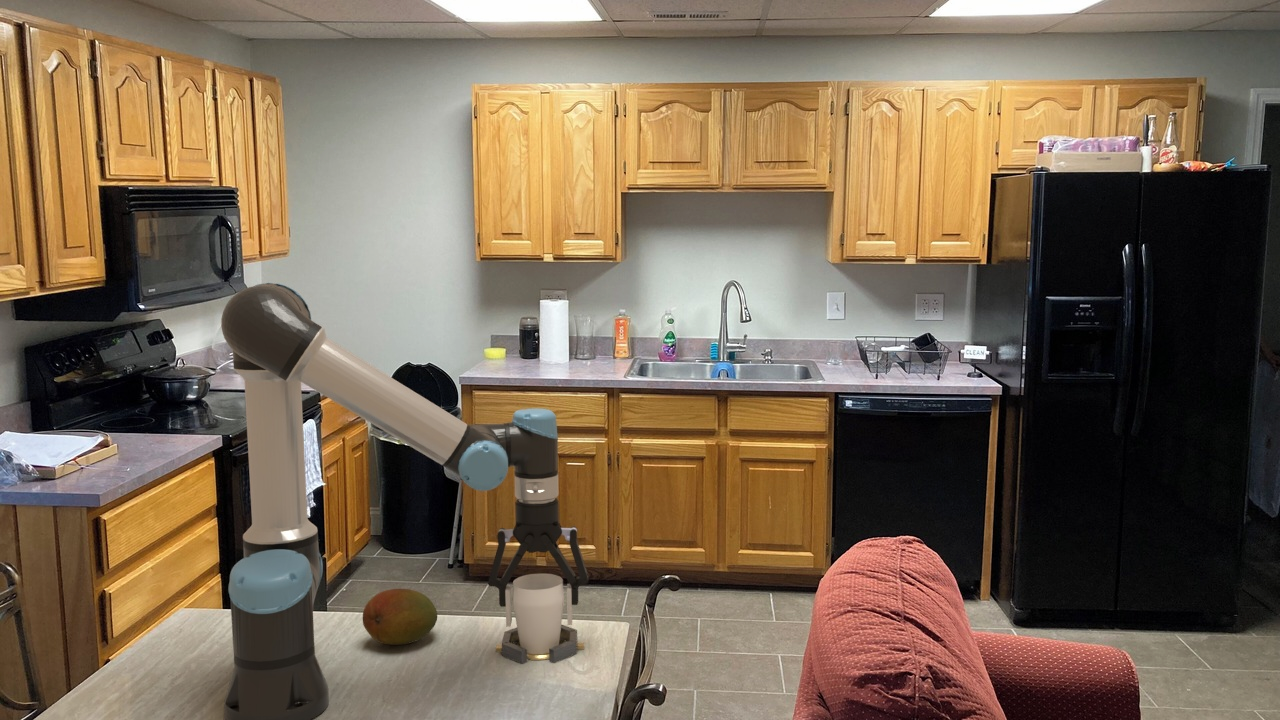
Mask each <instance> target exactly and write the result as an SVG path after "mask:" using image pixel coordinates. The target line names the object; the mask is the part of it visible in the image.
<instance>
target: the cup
mask: <svg viewBox="0 0 1280 720" xmlns="http://www.w3.org/2000/svg"><path fill="white" fill-rule="evenodd" d="M564 591H565V589H564V579H563V578H562V577H561V576H559V575H557V574H552V573H529V574H525V575H521V576H518V577H517V578H515V579H514V580H513V582H512V596H511V601H512V605H513V610H514V616H515V623H516V627H517V629H518V635H519V640H520V646H521V647H522V648H525V649H527V653H528V654H534V655H541V654H547V653H549V649H550V648H553V647H555V646H558V645H559V639H560V631H561V624H562V622H563V620H562V619H563V612H564V603H565V592H564Z"/></svg>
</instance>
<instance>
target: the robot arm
mask: <svg viewBox="0 0 1280 720" xmlns="http://www.w3.org/2000/svg"><path fill="white" fill-rule="evenodd" d="M220 323H221V332H222V335H223V338H224V340H225V342H226V343H227V345H228V346H229V348H230V349H232V363H233V365H232V366H233V371H234V372H236V374H238V375H240V377H241V378H242V379H243V380H244V393H245V397H244V398H245V412H246V416H245V417H246V436H247V449H248V450H247V453H248V455H247V456H248V470H249V489H250V491H249V492H250V506H251V508H250V509H251V511H250V512H251V526H250V527H249V528H247V530H246V531H245V532H244V533H243V534H242V545H243V546H242V549H243V558H242V559H240V560H239V561H237V562H236V563H235V564H234V566H232V568H231V571H230V572H229V573H230V574H229V583H228V594H229V598H230V599H229V600H230V601H229V602H230V612H231V613H230V614H231V629H232V646H233V647H232V648H233V649H232V650H233V651H232V652H233V670H232V673H231V677H230V679H229V684H228V687H227V692H226V694H225V698H224V702H223V709H224V711H223V713H224V714H223V715H224V720H312V719H314V718H316V717H318V716H319V715H321V714H322V713H323V712H324V711H325V710H326V709H327V707H328V706H329V703H330V693H329V685H328V682H327V681H326V677H325V676H324V673H323V670H322V668H321V666H320V663H319V662H318V659H317V656H316V650H315V649H316V648H315V629H314V603H315V599H316V596H317V592H318V588H319V586H320V583H321V580H322V578H323V572H324V571H323V570H324V569H323V567H324V566H323V558H322V557H321V556H322V555H321V553H320V549H319V532H318V527H317V526H316V525H315V524H314V523H312V522H311V521H310V520H309V519H308V504H307V502H308V501H307V483H306V482H307V481H306V480H307V479H306V478H307V477H306V461H305V460H306V459H305V442H304V441H305V440H304V439H305V438H304V419H303V415H304V414H303V399H302V398H303V396H302V383H303V384H304V385H306V386H308V387H309V388H311V389H312V390H314V391H316V392H317V393H319V394H321V395H323V396H325V397H326V398H327V399H330V400H331V401H333V402H334V403H336V404H337V405H339V406H341V407H343V408H344V409H346V410H348V411H350V412H351V413H353V414H355V415H356V416H358V417H360V418H361V419H363V420H365V421H367V422H368V423H370V424H372V425H374V426H375V427H377V428H379V429H380V430H382V431H383V432H386V433H387V434H389V435H390V436H392V437H394V438H395V439H397V440H399V441H401V442H402V443H404V444H405V445H407V446H409V447H410V448H413V449H414V450H415V451H416V452H417V451H418V452H419V453H421V454H423V455H425V456H426V457H427V458H429V459H431V460H433V461H434V462H435V463H437V464H439V465H441V466H443V467H444V468H445V469H446V470H448V471H450V472H452V473H453V474H455V475H456V476H458V477H460V478H461V480H462V481H463V483H464V484H465V485H467V486H469V487H470V488H471V489H472V490H476V491H480V492H485V491H492V490H493V489H495V488H497V487H498V486H500V485H501V484H502V483H503V481H504V480H505V479H506V477H507V474H508V471H509V468H510V467H514V497H515V498H516V501H515V502H514V507H515V508H514V509H515V511H514V512H515V513H514V514H515V525H514V527H513V528H511V529H510V528H509V529H505V528H504V527H500V528H499V529H498V532H497V535H496V536H497V548H496V552H495V556H494V560H493V562H492V567H491V569H490V570H491V571H490V574H489V578H488V582H487V584H488V586H489V587H495V588H497V589H498V598H499V599H498V600H499V601H498V604H499V607H500V608H502V607H503V608H505V623H506V624H505V625H506V626H505V627H512V622H513V613H512V612H513V610H512V609H513V607H512V605H513V603H512V584H509V582H510V580H511V578H512V576H513V575H514V573H515V572H516V569H517V568H518V566H519V564H520V563H521V560H522V559H523V558H524V555H525V554H526V552H527V553H530V554H533V553H537V552H539V553H547V552H549V554H550V555H551V557H552V558H553V559H554V561H555V562H556V564H557V565H558V567H559V568H560V570H561V572H562V574H563V575H564V577H565V579H566V580H567V585H566V603H567V604H566V606H567V607H566V608H567V610H566V611H567V614H566V615H567V616H566V617H567V626H573V606H577V605H578V603H579V587H580V586H583V585H587V584H588V583H589V574H588V570H587V567H586V565H585V561H584V558H583V554H582V551H581V549H580V546H579V541H578V539H577V538H578V528H577V527H576V526H571V527H562V526H561V523H560V513H559V512H560V509H559V507H560V506H559V505H560V501H559V499H558V496H559V493H560V492H559V489H560V488H559V453H558V451H559V446H558V445H559V441H558V440H559V436H558V428H557V427H558V425H557V416H556V414H555V413H554V412H553V411H552V410H551V409H547V408H525V409H518V410H516V411H514V413H513V414H512V420H511V422H509V421H508V422H504V423H485V424H484V423H483V424H481V423H479V424H467V423H466V422H464V421H463V420H461V419H459V417H456V416H455V415H453V414H451V413H449V412H448V411H446V410H445V409H443V408H441V407H440V406H438V405H436V404H435V403H434V402H432V401H430V400H429V399H427V398H425V397H424V396H422V395H421V394H419V393H417V392H415V391H414V390H412V389H411V388H409V387H407V386H406V385H404V384H403V383H401V382H399V381H397V380H396V379H394V378H393V377H391V376H389V375H388V374H386V373H384V372H383V371H381V370H379V369H378V368H377V367H376V366H373V365H371V364H370V363H368V362H367V361H365V360H363V359H362V358H360V357H359V356H357V355H355V354H354V353H352V352H350V351H348V350H347V349H346V348H345V347H342V346H341V345H339V344H337V343H336V342H334V341H332V340H331V339H330V338H328V337H327V335H326V331H325V328H324V327H323V326H322V325H321V324H318V323H316V322H314V321H313V320H312V315H311V311H310V309H309V306H308V304H307V302H306V301H305V299H304V298H303V297H302V296H301V295H300V294H299V293H298V291H296V290H295V289H293V288H291V287H289V286H287V285H284V284H280V283H272V282H266V283H257V284H256V285H253V286H249V287H245V288H244V289H242V290H239V291H238V292H237V293H235V294H234V295H233V296H232V297H231V298H230V299H229V300H228V301H227V303H226V304H225V307H224V309H223V311H222V313H221V321H220ZM561 536H564V538H565V541H566V542H569V547H570V550H571V554H572V557H573V560H574V562H575V566H576V569H577V572H578V576H577V575H576V573H575V572H574V570H573V568H572V567H571V566H570V564H569V562H568V560H567V559H566V557H565V556H564V554H563V552H562V551H561V548H560V547H559V545H558V542H557V541H558V540H559V539H560V538H561ZM512 537H514V538H515V540H516V541H517V542H518V543H519V546H518V548H517V550H516V551H515V554H514V555H513V556H512V559H511V561H510V563H509V564H508V566H507V568H506V570H505V571H504V573H503V574H502V576H501V578H500V577H498V574H499V572H500V567H501V564H502V560H503V556H504V552H505V549H506V544H507V543H509V542H510V541H511V538H512ZM508 584H509V585H508Z"/></svg>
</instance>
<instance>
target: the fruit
mask: <svg viewBox="0 0 1280 720" xmlns="http://www.w3.org/2000/svg"><path fill="white" fill-rule="evenodd" d="M437 621H438V611H437V608H436V606H435V605H434V603H433V602H432V600H430V598H429V597H428V596H427V595H425V594H424V593H421V592H419V591H416V590H414V589H410V588H409V589H408V588H392V589H386V590H382V591H381V592H379V593H376V595H374V596H373V597H372V598H370V600H369V601H368V602H367V603H366V605H365V606H364V609H363V611H362V625H363V627H364V629H365V631H366V632H367V633H368V634H369V635H370V637H372V638H373V639H374V640H376V641H377V642H379V643H381V644H384V645H391V646H392V645H394V646H402V645H407V644H411V643H415V642H416V641H419V640H422V638H424V637H425V636H427V635H428V634H429V633H430V632H432V630H433V629H434V627H435V625H436V623H437Z"/></svg>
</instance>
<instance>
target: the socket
mask: <svg viewBox="0 0 1280 720" xmlns="http://www.w3.org/2000/svg"><path fill="white" fill-rule="evenodd" d="M578 649H579V650H585V642H578V629H576V628H572V627H570V626H568V625H564V624H562V623H561V631H560V639H559V645H558V646H555V647H553V648H550V649H549V653H547V654H541V655H534V654H528V653H527V649H525V648H522V647H521V646H520V640H519V635H518V629H517V626H516V627H514V628H511V629H509V630H506V631H504V632H503V636H502V641H501V644H496V646H495V652H496V653H497V652H501V656H502V657H504V658H507V659H509V660H511V661H514V662H516V663H518V664H520V665H521V664H522V665H523V664H525V663H528V661H546V660H549V662H551V663H553V664H555V663H557V662H560V661H563V660H566V659H567V658H570V657H572V656H575V655H577V651H578Z"/></svg>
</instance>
